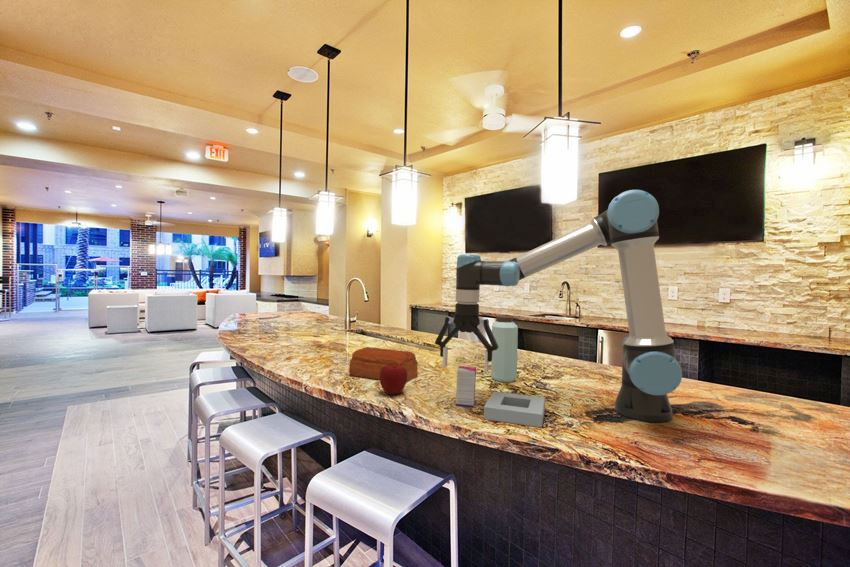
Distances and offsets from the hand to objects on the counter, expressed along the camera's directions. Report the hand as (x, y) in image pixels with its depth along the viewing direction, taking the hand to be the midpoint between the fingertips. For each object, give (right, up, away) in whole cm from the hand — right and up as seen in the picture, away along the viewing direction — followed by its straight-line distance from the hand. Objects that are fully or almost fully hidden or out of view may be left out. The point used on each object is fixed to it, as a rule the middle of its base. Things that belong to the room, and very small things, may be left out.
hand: (465, 369), depth 123 cm
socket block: (+14, -11, -8) cm, 20 cm away
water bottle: (+18, -11, +30) cm, 37 cm away
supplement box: (0, -11, 0) cm, 11 cm away
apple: (-24, -11, +10) cm, 28 cm away
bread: (-30, -10, +34) cm, 46 cm away
